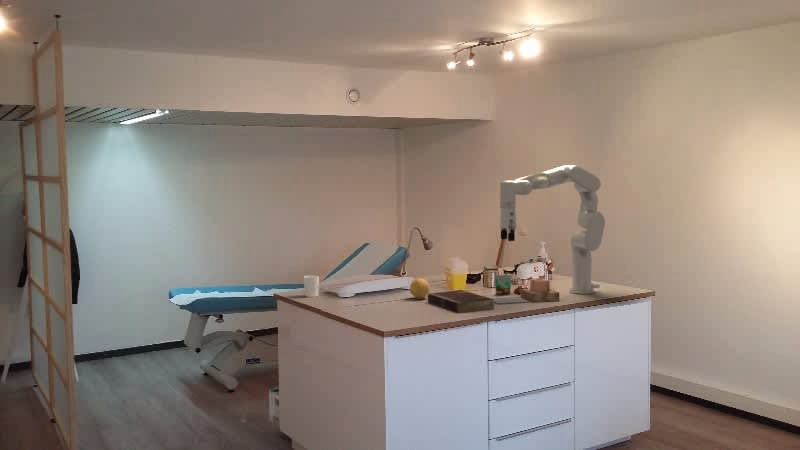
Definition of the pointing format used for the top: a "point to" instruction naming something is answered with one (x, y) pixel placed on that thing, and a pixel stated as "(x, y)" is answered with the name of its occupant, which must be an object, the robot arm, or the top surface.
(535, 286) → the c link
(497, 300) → the mat
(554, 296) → the stand
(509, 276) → the food container
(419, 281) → the stress ball
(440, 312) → the top surface
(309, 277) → the white cup
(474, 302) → the hardback book
